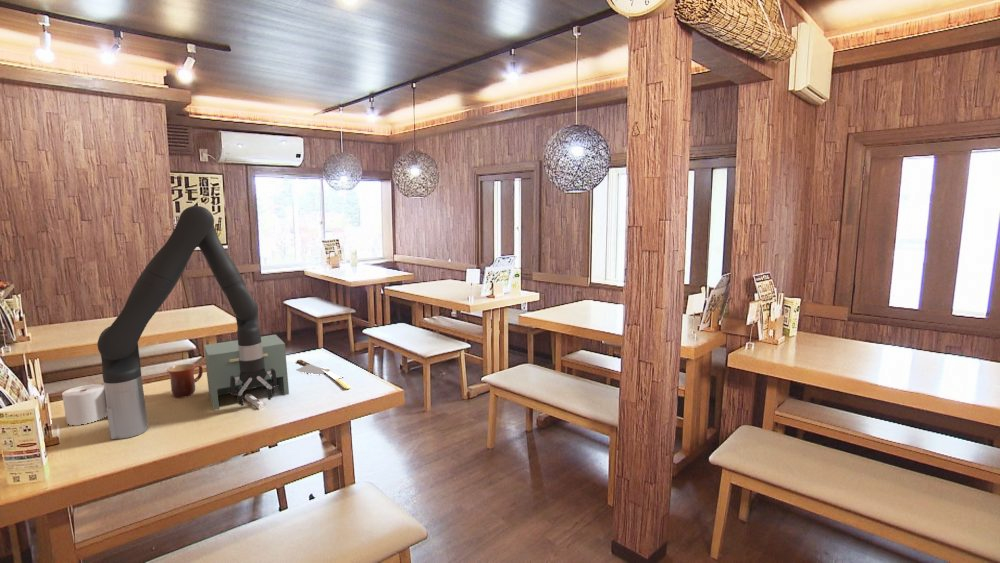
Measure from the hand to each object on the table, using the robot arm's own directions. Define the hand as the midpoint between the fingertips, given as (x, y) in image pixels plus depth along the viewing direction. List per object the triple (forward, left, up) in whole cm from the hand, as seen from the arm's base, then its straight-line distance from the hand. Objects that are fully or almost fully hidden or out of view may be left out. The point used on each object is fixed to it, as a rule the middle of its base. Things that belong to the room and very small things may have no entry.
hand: (255, 402), depth 174 cm
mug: (-18, +30, -2) cm, 35 cm away
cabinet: (0, +14, -2) cm, 14 cm away
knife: (+31, +13, -2) cm, 34 cm away
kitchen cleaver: (+25, +32, -2) cm, 40 cm away
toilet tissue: (-46, +23, -2) cm, 51 cm away
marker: (0, +5, -2) cm, 5 cm away
